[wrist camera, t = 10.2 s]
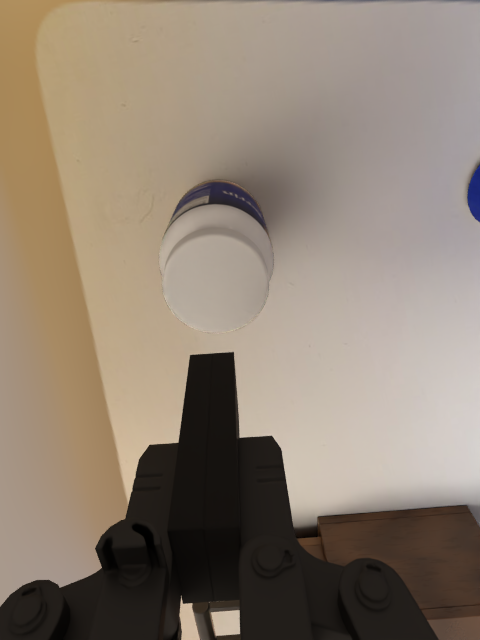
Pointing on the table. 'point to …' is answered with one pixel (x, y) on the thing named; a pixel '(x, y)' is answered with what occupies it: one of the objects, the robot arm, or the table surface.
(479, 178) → the beverage can
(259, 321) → the table surface
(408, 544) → the cabinet
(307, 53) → the table surface
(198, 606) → the drawer
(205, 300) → the pill bottle
